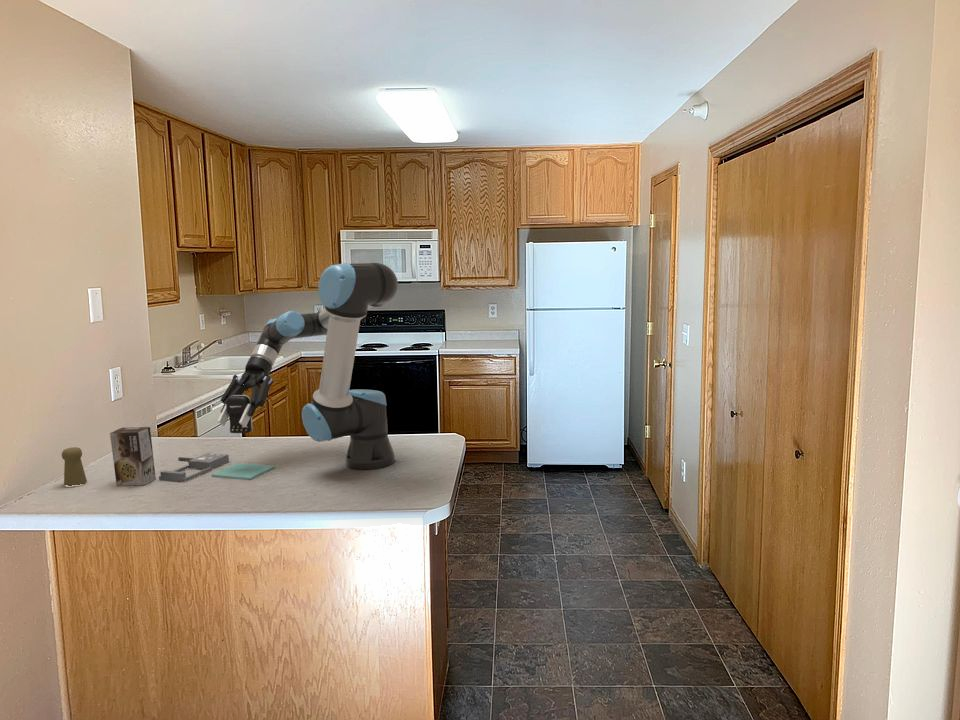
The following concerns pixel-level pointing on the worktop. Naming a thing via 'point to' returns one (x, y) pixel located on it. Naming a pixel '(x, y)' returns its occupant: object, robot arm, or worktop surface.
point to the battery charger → (238, 413)
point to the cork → (73, 467)
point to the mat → (243, 471)
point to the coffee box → (133, 456)
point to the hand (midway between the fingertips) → (231, 424)
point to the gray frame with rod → (195, 466)
